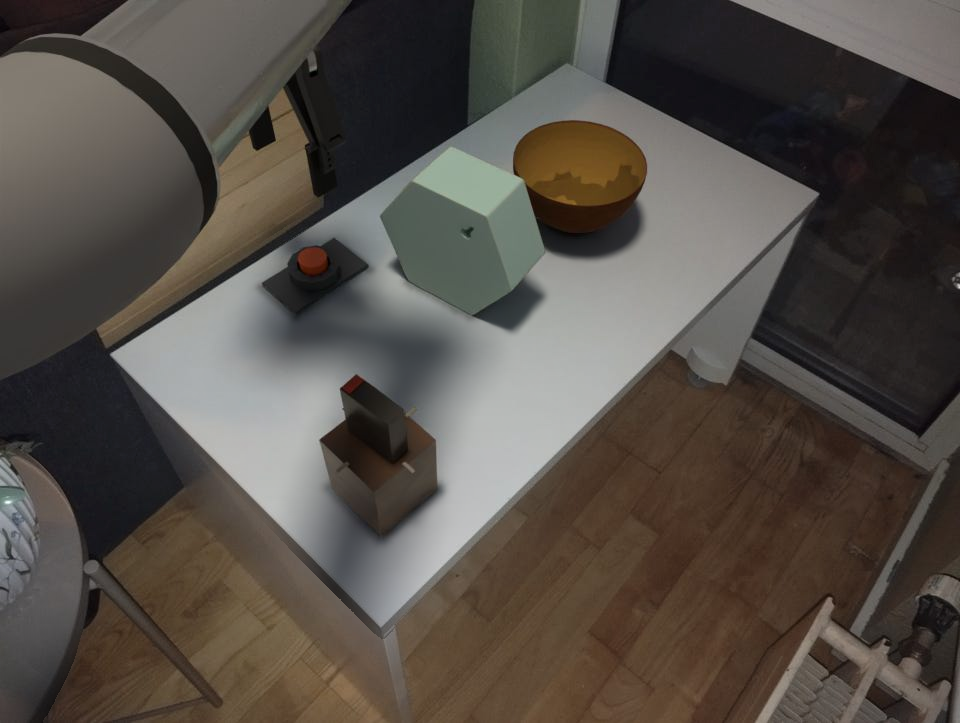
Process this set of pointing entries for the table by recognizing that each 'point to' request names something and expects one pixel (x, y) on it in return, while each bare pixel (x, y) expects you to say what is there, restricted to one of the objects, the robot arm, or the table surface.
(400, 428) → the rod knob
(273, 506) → the table surface
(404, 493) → the pegged wooden cube
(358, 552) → the table surface
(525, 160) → the bowl
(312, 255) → the button
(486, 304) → the sage hexagonal prism
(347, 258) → the button box
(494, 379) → the table surface
